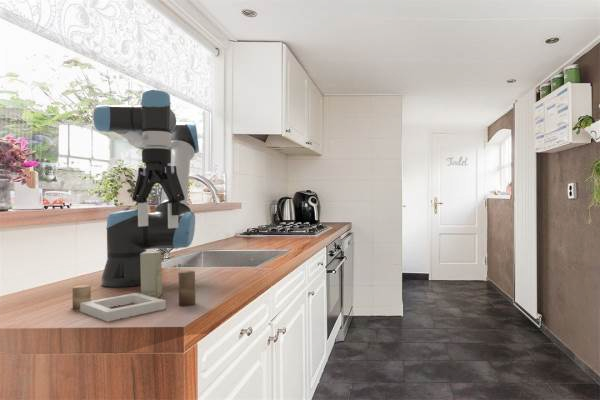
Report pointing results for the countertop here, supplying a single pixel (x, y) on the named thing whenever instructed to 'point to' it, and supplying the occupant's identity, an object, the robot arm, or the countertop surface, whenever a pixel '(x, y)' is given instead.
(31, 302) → the countertop surface
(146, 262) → the skincare box
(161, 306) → the white square frame
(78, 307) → the short oak dowel
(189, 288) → the mid walnut dowel
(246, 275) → the countertop surface
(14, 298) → the countertop surface
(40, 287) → the countertop surface
